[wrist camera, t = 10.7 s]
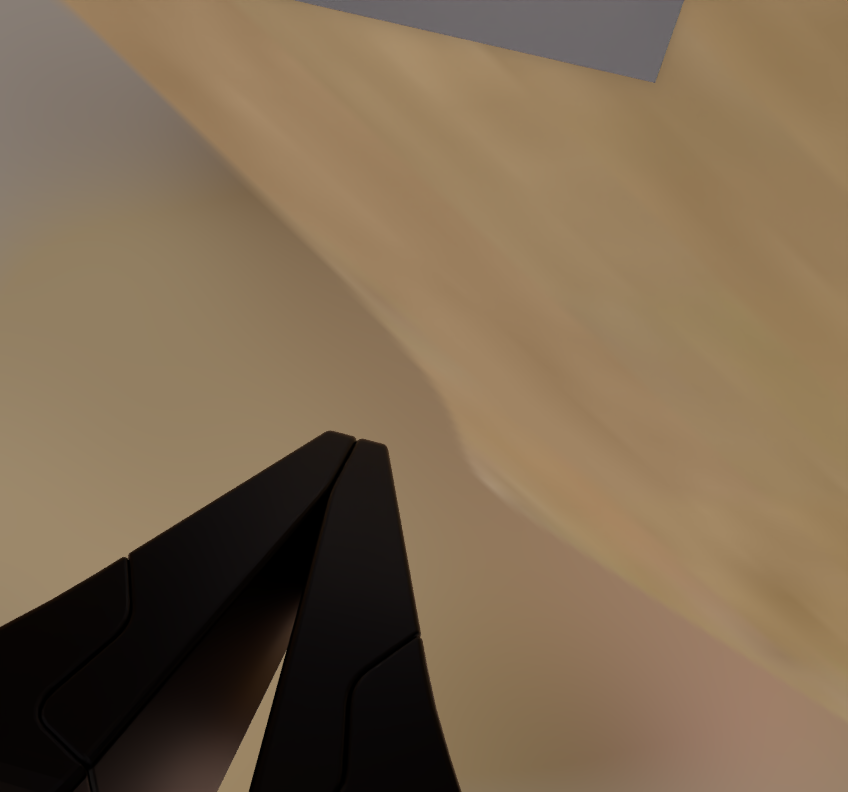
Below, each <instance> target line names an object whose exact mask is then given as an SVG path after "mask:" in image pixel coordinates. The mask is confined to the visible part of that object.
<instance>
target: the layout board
mask: <svg viewBox="0 0 848 792" xmlns="http://www.w3.org/2000/svg"><path fill="white" fill-rule="evenodd" d="M296 1H300V2H305V3H309V4H313V5H318V6H322V7H326V8H331V9H335V10H339V11H344V12H348V13H353V14H357V15H361V16H366V17H370V18H374V19H379V20H383V21H388V22H392V23H396V24H401V25H405V26H409V27H414V28H418V29H422V30H427V31H431V32H436V33H440V34H444V35H449V36H453V37H457V38H462V39H466V40H470V41H475V42H479V43H484V44H488V45H492V46H497V47H501V48H505V49H510V50H514V51H519V52H523V53H527V54H532V55H536V56H540V57H545V58H549V59H553V60H558V61H562V62H567V63H571V64H575V65H580V66H584V67H588V68H593V69H597V70H602V71H606V72H610V73H615V74H619V75H623V76H628V77H632V78H636V79H641V80H645V81H650V82H654V83H655V81H656V78H657V75H658V73H659V70H660V67H661V64H662V61H663V58H664V56H665V53H666V50H667V47H668V44H669V41H670V39H671V36H672V33H673V30H674V27H675V24H676V21H677V19H678V16H679V13H680V10H681V7H682V4H683V2H684V0H296Z"/></svg>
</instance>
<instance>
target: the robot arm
mask: <svg viewBox="0 0 848 792" xmlns="http://www.w3.org/2000/svg"><path fill="white" fill-rule="evenodd" d="M420 636H421V632H420V626H419V620H418V615H417V609H416V604H415V598H414V593H413V587H412V581H411V575H410V570H409V565H408V559H407V553H406V548H405V542H404V536H403V531H402V525H401V519H400V514H399V508H398V503H397V497H396V491H395V486H394V480H393V475H392V469H391V464H390V458H389V452H388V449H387V447H386V446H385V445H384V444H381V443H377V442H374V441H370V440H366V439H359V440H358V441H356V438H355V437H353V436H350V435H346V434H343V433H339V432H335V431H326V432H324V433H323V434H321V435H320V436H318V437H316V438H315V439H313V440H311V441H310V442H308V443H307V444H305V445H303V446H302V447H300V448H299V449H297V450H295V451H294V452H292V453H290V454H289V455H287V456H286V457H284V458H282V459H281V460H279V461H278V462H276V463H274V464H273V465H271V466H269V467H268V468H266V469H265V470H263V471H261V472H260V473H258V474H257V475H255V476H253V477H252V478H250V479H249V480H247V481H245V482H244V483H242V484H240V485H239V486H237V487H236V488H234V489H232V490H231V491H229V492H227V493H226V494H224V495H223V496H221V497H219V498H218V499H216V500H215V501H213V502H211V503H210V504H208V505H206V506H205V507H203V508H202V509H200V510H198V511H197V512H195V513H194V514H192V515H190V516H189V517H187V518H185V519H184V520H182V521H181V522H179V523H177V524H176V525H174V526H173V527H171V528H169V529H168V530H166V531H165V532H163V533H161V534H160V535H158V536H156V537H155V538H153V539H152V540H150V541H148V542H147V543H145V544H143V545H142V546H140V547H139V548H137V549H135V550H134V551H132V552H131V553H129V555H128V559H127V558H126V557H122V558H120V559H119V560H117V561H116V562H114V563H112V564H111V565H109V566H108V567H106V568H104V569H103V570H101V571H99V572H98V573H96V574H94V575H93V576H91V577H89V578H88V579H86V580H84V581H83V582H81V583H79V584H77V585H76V586H74V587H72V588H71V589H69V590H67V591H65V592H64V593H62V594H60V595H59V596H57V597H55V598H53V599H52V600H50V601H48V602H46V603H45V604H42V605H41V606H39V607H37V608H35V609H33V610H31V611H29V612H28V613H25V614H24V615H22V616H20V617H18V618H16V619H14V620H12V621H10V622H9V623H7V624H5V625H3V626H1V627H0V792H217V791H218V788H219V786H220V785H221V782H222V781H223V779H224V777H225V774H226V772H227V770H228V768H229V766H230V764H231V762H232V760H233V758H234V756H235V754H236V752H237V750H238V748H239V746H240V744H241V742H242V740H243V738H244V736H245V734H246V732H247V729H248V727H249V725H250V723H251V721H252V719H253V717H254V715H255V713H256V711H257V709H258V707H259V705H260V703H261V701H262V699H263V697H264V695H265V693H266V691H267V689H268V687H269V684H270V682H271V680H272V678H273V676H274V674H275V672H276V670H277V668H278V666H279V664H280V662H281V660H282V658H283V656H284V654H285V652H286V655H285V659H284V662H283V666H282V670H281V674H280V677H279V681H278V685H277V688H276V692H275V696H274V699H273V704H272V707H271V711H270V715H269V718H268V722H267V726H266V729H265V733H264V737H263V740H262V744H261V748H260V752H259V755H258V760H257V763H256V767H255V770H254V774H253V778H252V782H251V786H250V789H249V792H461V789H460V786H459V783H458V780H457V777H456V774H455V771H454V768H453V765H452V761H451V758H450V755H449V752H448V748H447V744H446V741H445V738H444V734H443V731H442V727H441V723H440V720H439V717H438V713H437V710H436V705H435V700H434V696H433V691H432V687H431V682H430V677H429V673H428V669H427V663H426V657H425V652H424V646H423V641H422V639H421V638H420ZM286 650H287V651H286Z"/></svg>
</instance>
